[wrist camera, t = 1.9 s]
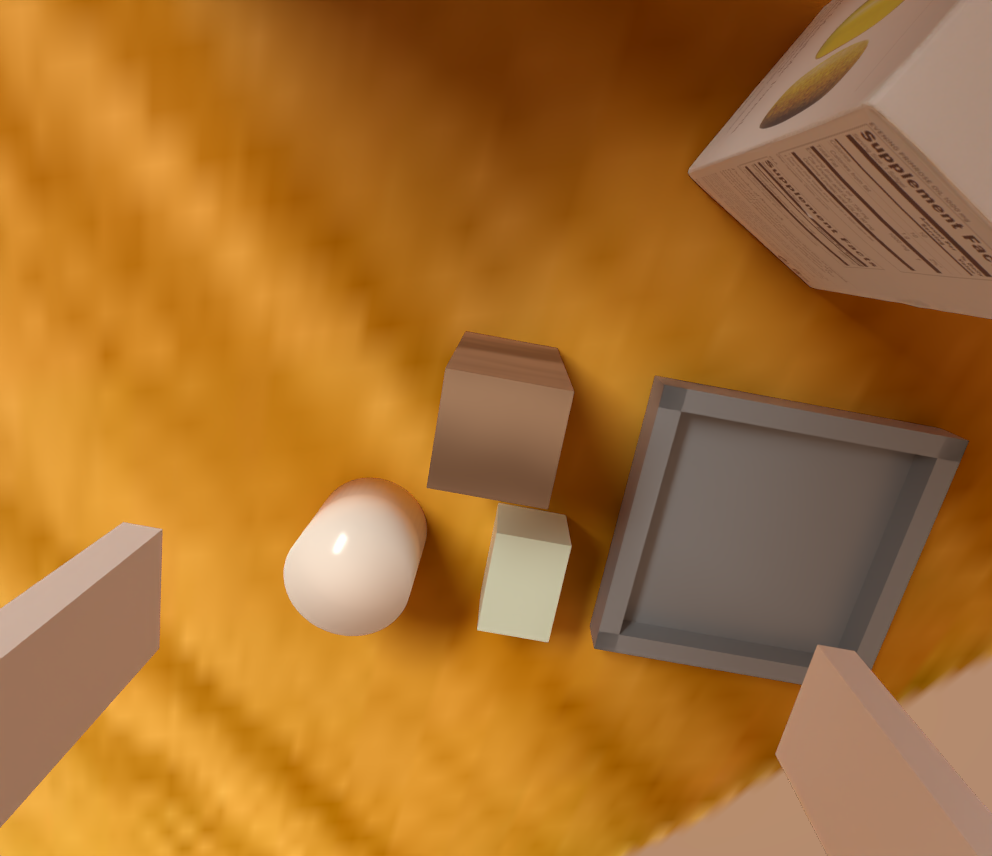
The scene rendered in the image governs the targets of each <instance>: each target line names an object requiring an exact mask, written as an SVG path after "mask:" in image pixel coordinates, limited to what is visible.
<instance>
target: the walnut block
mask: <svg viewBox="0 0 992 856" xmlns="http://www.w3.org/2000/svg"><path fill="white" fill-rule="evenodd" d="M573 395H574V390H573V387H572V384H571V382H570V379H569V377H568V374H567V372H566V369H565V366H564V364H563V361H562V359H561V356H560V354H559V351H558V348H554V347H549V346H543V345H538V344H532V343H527V342H521V341H516V340H511V339H505V338H500V337H494V336H489V335H484V334H478V333H473V332H467V331H466V332H465V334H464V335H463V337H462V339H461V341H460V343H459V345H458V346H457V348H456V350H455V352H454V354H453V356H452V357H451V359H450V361H449V363H448V365H447V366H446V369H445V375H444V381H443V388H442V394H441V400H440V407H439V413H438V419H437V426H436V432H435V438H434V445H433V451H432V457H431V463H430V470H429V476H428V482H427V488H431V489H437V490H442V491H448V492H453V493H459V494H465V495H470V496H476V497H481V498H487V499H493V500H498V501H504V502H509V503H515V504H521V505H526V506H532V507H537V508H543V509H548V507H549V503H550V498H551V494H552V489H553V485H554V480H555V476H556V471H557V467H558V462H559V458H560V453H561V449H562V444H563V440H564V436H565V431H566V427H567V422H568V418H569V413H570V409H571V404H572V400H573Z"/></svg>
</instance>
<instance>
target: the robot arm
mask: <svg viewBox="0 0 992 856" xmlns="http://www.w3.org/2000/svg"><path fill="white" fill-rule="evenodd" d="M161 563H162V529H158V528H153V527H147V526H141V525H136V524H130V523H124V522H123V523H122V524H120V525H119V526H117V527H116V528H114V529H113V530H112V531H110V532H109V533H107V534H106V535H105V536H103V537H102V538H100V539H99V540H97V541H96V542H95V543H93V544H92V545H90V546H89V547H87V548H86V549H85V550H83V551H82V552H80V553H79V554H78V555H76V556H75V557H73V558H72V559H70V560H69V561H68V562H66V563H65V564H63V565H62V566H60V567H59V568H58V569H56V570H55V571H53V572H52V573H51V574H49V575H48V576H46V577H45V578H43V579H42V580H41V581H39V582H38V583H36V584H35V585H33V586H32V587H31V588H29V589H28V590H26V591H25V592H24V593H22V594H21V595H19V596H18V597H16V598H15V599H14V600H12V601H11V602H9V603H8V604H6V605H5V606H4V607H2V608H1V609H0V827H1V826H2V825H3V824H4V823H5V822H6V821H7V819H8V818H9V817H10V816H11V815H12V814H13V813H14V812H15V810H16V809H17V808H18V807H19V806H20V805H21V804H22V803H23V801H24V800H25V799H26V798H27V797H28V796H29V795H30V794H31V792H32V791H33V790H34V789H35V788H36V787H37V786H38V784H39V783H40V782H41V781H42V780H43V779H44V778H45V777H46V775H47V774H48V773H49V772H50V771H51V770H52V769H53V768H54V766H55V765H56V764H57V763H58V762H59V761H60V760H61V759H62V757H63V756H64V755H65V754H66V753H67V752H68V751H69V750H70V748H71V747H72V746H73V745H74V744H75V743H76V742H77V740H78V739H79V738H80V737H81V736H82V735H83V734H84V733H85V731H86V730H87V729H88V728H89V727H90V726H91V725H92V724H93V722H94V721H95V720H96V719H97V718H98V717H99V716H100V715H101V713H102V712H103V711H104V710H105V709H106V708H107V707H108V705H109V704H110V703H111V702H112V701H113V700H114V699H115V698H116V696H117V695H118V694H119V693H120V692H121V691H122V690H123V689H124V687H125V686H126V685H127V684H128V683H129V682H130V681H131V680H132V678H133V677H134V676H135V675H136V674H137V673H138V672H139V671H140V669H141V668H142V667H143V666H144V665H145V664H146V663H147V661H148V660H149V659H150V658H151V657H152V656H153V655H154V654H155V652H156V651H157V650H158V649H159V636H160V599H161ZM775 755H776V757H777V758H778V760H779V762H780V764H781V766H782V768H783V770H784V772H785V774H786V776H787V778H788V780H789V782H790V784H791V786H792V788H793V790H794V792H795V794H796V796H797V798H798V799H799V801H800V803H801V805H802V807H803V809H804V811H805V813H806V815H807V817H808V819H809V821H810V823H811V825H812V827H813V829H814V831H815V832H816V835H817V837H818V839H819V841H820V842H821V844H822V846H823V848H824V850H825V852H826V854H827V856H992V814H991V813H990V812H989V810H988V809H987V808H986V807H985V806H984V805H983V803H982V802H981V801H980V800H979V798H978V797H977V796H976V795H975V794H974V793H973V791H972V790H971V789H970V788H969V787H968V785H967V784H966V783H965V782H964V781H963V779H962V778H961V777H960V776H959V775H958V773H957V772H956V771H955V770H954V769H953V768H952V766H951V765H950V764H949V763H948V762H947V760H946V759H945V758H944V757H943V756H942V754H941V753H940V752H939V751H938V750H937V748H936V747H935V746H934V745H933V744H932V743H931V741H930V740H929V739H928V738H927V737H926V735H925V734H924V733H923V732H922V731H921V729H920V728H919V727H918V726H917V725H916V723H915V722H914V721H913V720H912V719H911V717H910V716H909V715H908V714H907V713H906V711H905V710H904V709H903V708H902V707H901V706H900V704H899V703H898V702H897V701H896V700H895V698H894V697H893V696H892V695H891V694H890V692H889V691H888V690H887V689H886V688H885V686H884V685H883V684H882V683H881V682H880V680H879V679H878V678H877V677H876V676H875V675H874V673H873V672H872V671H871V670H870V669H869V667H868V666H867V665H866V664H865V663H864V661H863V660H862V659H861V658H860V657H859V655H858V654H857V653H856V652H855V651H852V650H846V649H840V648H835V647H829V646H823V645H817V647H816V650H815V652H814V655H813V657H812V660H811V663H810V665H809V668H808V670H807V673H806V676H805V678H804V681H803V683H802V686H801V689H800V691H799V694H798V696H797V699H796V702H795V704H794V707H793V709H792V712H791V715H790V717H789V720H788V722H787V725H786V728H785V730H784V733H783V735H782V738H781V740H780V743H779V746H778V748H777V751H776V753H775Z"/></svg>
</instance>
